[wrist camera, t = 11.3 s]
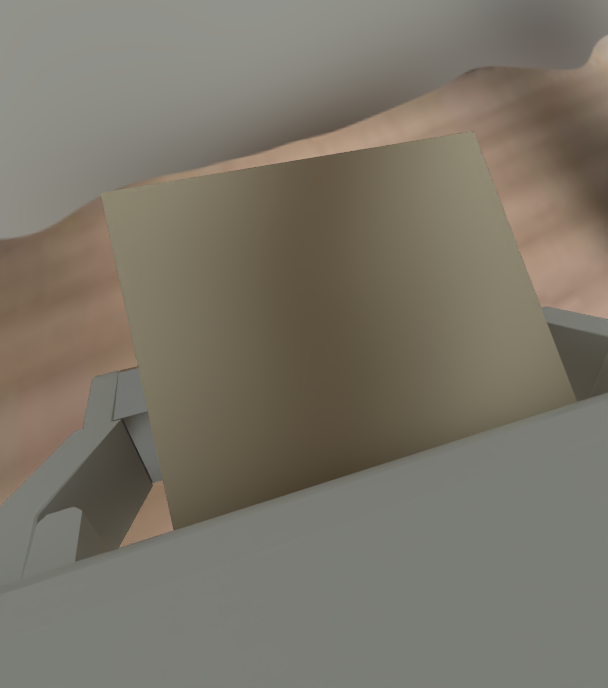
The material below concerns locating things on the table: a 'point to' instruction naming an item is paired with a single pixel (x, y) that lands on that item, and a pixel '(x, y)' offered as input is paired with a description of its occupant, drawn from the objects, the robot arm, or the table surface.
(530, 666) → the robot arm
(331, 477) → the beige block
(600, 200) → the table surface
